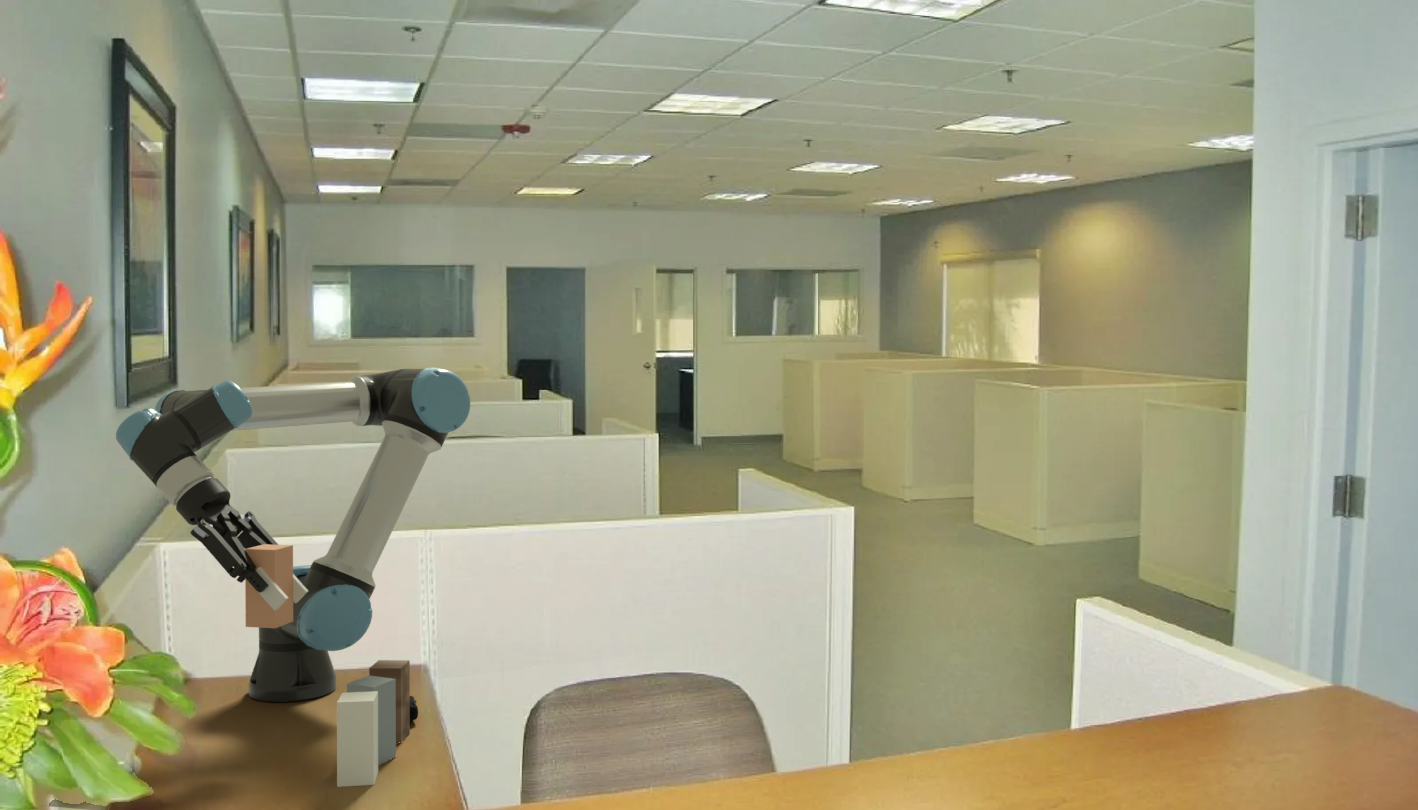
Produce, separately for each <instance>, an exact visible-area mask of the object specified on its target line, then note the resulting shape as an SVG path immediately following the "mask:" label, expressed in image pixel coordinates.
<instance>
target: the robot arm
mask: <svg viewBox="0 0 1418 810" xmlns="http://www.w3.org/2000/svg"><path fill="white" fill-rule="evenodd" d="M470 411H471V396H470V394H469V390H468V386H466V383H465V382H464V381H463V379H462V378H461V377H460V376H459V375H457V374H456V373H455V372H452V371H450V370H448V369H444V368H439V367H426V368H399V369H395V370H389V371H385V372H384V371H383V372H380V373H373V374H365V375H353V376H352V377H351V378H350V379H349V380H348V381H337V382H324V383H323V382H322V383H321V382H319V383H304V384H285V385H284V384H283V385H268V386H266V385H265V386H253V387H251V386H249V387H248V386H247V387H240V385H238V384H236V382H233V381H231V380H224V381H222V382H220V383H218V384H216V385H214V384H213V385H212V386H211V387H210V388H208V389H199V390H198V389H197V390H196V389H195V390H183V389H182V390H181V389H179V390H173V391H170V392H168V393H166V394H164V395H162V396H161V397H160V398H159V399H158V401H157V402H156V404H155V407H154V408H152V407H151V408H144V409H142V410H137V411H135V412H133V413H132V414H130V415H129V416H127V417H126V418H125V419H124V420H123V421H121V423H120V424H119V426H118V427H117V430H116V433H115V439H116V441H117V443H118V445H120V447H121V449H123V451H124V452H125V453H126V455H127V457H129V459H130V460H131V461H132V462H133V463H134V464H135V466H137V467H138V468H139V469H140V470H141V471H142V473H144V474H145V476H146V477H147V478H148V479H149V480H150V481H151V482H152V484H153V485H154V486H155V488H157V489H158V490H159V491H160V492H161V493H162V495H163V496H164V498H165V499H166V500H167V501H168V502H169V504H171V505H172V506H174V507H175V509H176V512H177V513H179V515H180V516H181V517H182V518H183V519H184V520H185V521H186V523H187V524H189V525H191V526H194V527H193V529H192V530H190V534H191V536H192V537H194V538H195V539H196V540H198V541H199V542H200V543H201V544H202V545H203V546H204V547H205V548H206V550H207V551H208V552H209V553H210V554H211V555H212V556H213V557H214V559H215V560H216V561H217V562H218V563H219V565H220V566H221V568H223V569H224V570H225V572H226V573H227V574H228V575H229V576H230V577H231V578H233V579H236V578H237V579H236V581H237V582H239V583H243V582H244V581H245V579H247V581H248V582H249V583H250V584H251V585H252V586H253V587H254V588H255V590H256V591H257V592H258V593H259V594H260V595H261V596H262V597H263V598H264V600H265V601H266V602H267V603H268V604H269V605H270V606H271V607H272V609H273V610H274V611H275V610H278V608H279V607H280V606H281V605H282V604H283V603H284V602H285V601H286V600H287V599H288V597H287V595H286V594H285V593H284V592H283V591H282V590H281V589H280V588H279V586H278V585H277V584H276V583H275V582H274V581H273V580H272V579H271V578H270V576H269V575H268V574H267V573H266V572H265V571H264V570H263V569H262V567H258V568H257V569H256V570H255V568H256V566H255V564H254V563H253V561H252V560H251V558H250V557H249V555H248V553H247V552H246V551H245V549H247V548H251V547H255V546H259V545H263V544H270V545H279V543H278V542H277V541H276V540H275V539H274V538H273V537H272V536H271V534H270V533H268V531H267V530H266V529H265V528H264V526H263V525H261V524H260V523H259V521H258V520H257V517H256V516H255V514H254V513H253V512H252V511H246V513H245V514H241V513H240V512H239V511H238V510H237V509H236V508H234V507H233V506H232V505H230V499H231V492H230V491H229V490H228V489H227V488H226V487H225V485H224V484H223V483H222V482H221V481H220V480H219V479H218V478H215V473H213V472H212V471H211V469H210V468H208V467H207V465H206V464H205V463H204V462H203V461H202V459H200V458H199V457H198V456H197V454H196V452H198V451H200V450H201V449H202V448H204V447H206V446H208V445H210V444H211V443H213V442H214V441H217V440H218V439H220V438H221V437H223V436H224V435H226V434H228V433H230V432H234V431H235V432H236V431H247V430H259V429H261V430H262V429H272V428H285V427H298V426H301V427H302V426H311V425H324V424H338V423H349V422H351V423H352V424H354V425H355V426H357V427H363V426H364V427H365V426H366V427H367V426H374V427H375V426H379V427H381V426H382V428H383V431H384V434H385V435H384V437H383V439H382V441H381V443H380V445H379V447H378V449H377V451H376V454H375V455H374V457H373V460H372V462H371V464H370V466H369V468H368V470H367V471H366V473H365V476H364V477H363V480H362V482H361V484H360V486H359V488H358V490H357V491H356V494H355V496H354V497H353V499H352V502H351V504H350V506H349V508H348V510H347V512H346V515H345V517H344V518H343V520H342V522H341V525H340V527H339V528H338V531H337V532H336V534H335V537H334V538H333V541H332V542H331V545H330V547H329V549H328V551H327V553H326V554H325V555H323V556H322V557H319V558H316V559H314V560H313V561H312V563H311V564H305V565H295V566H294V565H293V622H290V623H288V624H285V625H283V626H280V627H277V628H259V627H258V654H257V656H256V659H255V664H254V666H253V670H252V673H251V676H250V679H249V682H248V696H249V697H250V698H252V699H254V700H257V701H262V702H274V703H279V702H280V703H283V702H284V703H286V702H296V701H297V702H299V701H304V700H310V699H314V698H320V697H322V696H326V695H328V694H330V693H332V692H333V691H335V690H336V689H337V673H336V671H335V668H334V665H333V662H332V660H331V656H330V654H329V652H337V651H341V650H345V649H348V648H349V647H351V646H353V645H355V644H356V643H357V642H359V641H360V640H361V639H362V637H364V635H365V634H366V633H367V631H368V630H369V628H370V626H371V622H372V619H373V608H372V602H371V597H372V595H373V593H374V590H375V588H376V587H377V586H376V582H375V579H374V577H373V572H374V570H375V568H376V566H377V564H378V562H379V561H380V558H381V555H382V554H383V551H384V549H385V547H386V545H387V543H388V541H389V539H390V537H391V535H392V532H393V530H394V528H395V526H396V525H397V522H398V520H399V518H400V516H401V513H402V512H403V509H404V507H405V505H406V503H407V502H408V499H409V497H410V495H411V492H412V490H413V489H414V486H415V485H416V482H417V480H418V478H419V476H420V474H421V471H422V469H423V468H424V466H425V463H426V461H427V459H428V457H429V455H431V454H432V453H435V452H438V451H441V449H442V447H443V445H444V443H445V441H446V439H447V437H448V434H449V433H452V432H454V431H456V430H458V429H459V428H461V427H462V426H463V425H464V423H465V422H467V421H466V420H467V419H468V417H469V414H470Z"/></svg>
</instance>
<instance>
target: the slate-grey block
mask: <svg viewBox="0 0 1418 810" xmlns="http://www.w3.org/2000/svg"><path fill="white" fill-rule="evenodd" d="M370 691H378V767H379V766H381V765H383V764H385V763H387V762H389V761H391V760H392V759H391V758H393V757H395V756H396V757H397V744H396V679H392V678H384V677H376V676H369V675H367V676H365V677H362V678H359V679H356V680H352V681H351V682H347V683H346V692H370ZM396 757H395V758H396ZM390 759H391V760H390ZM393 759H394V758H393ZM388 760H389V761H388Z"/></svg>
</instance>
